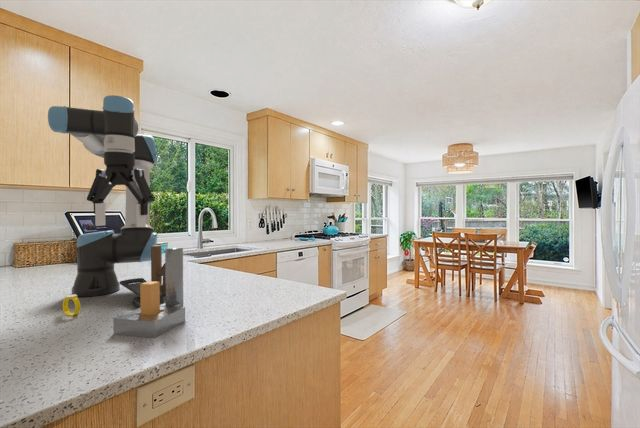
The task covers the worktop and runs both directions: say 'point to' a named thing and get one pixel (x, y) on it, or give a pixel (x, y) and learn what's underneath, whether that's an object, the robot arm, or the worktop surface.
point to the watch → (76, 302)
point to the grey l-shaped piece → (169, 311)
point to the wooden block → (157, 267)
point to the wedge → (150, 298)
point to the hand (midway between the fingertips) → (120, 226)
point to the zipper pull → (138, 290)
